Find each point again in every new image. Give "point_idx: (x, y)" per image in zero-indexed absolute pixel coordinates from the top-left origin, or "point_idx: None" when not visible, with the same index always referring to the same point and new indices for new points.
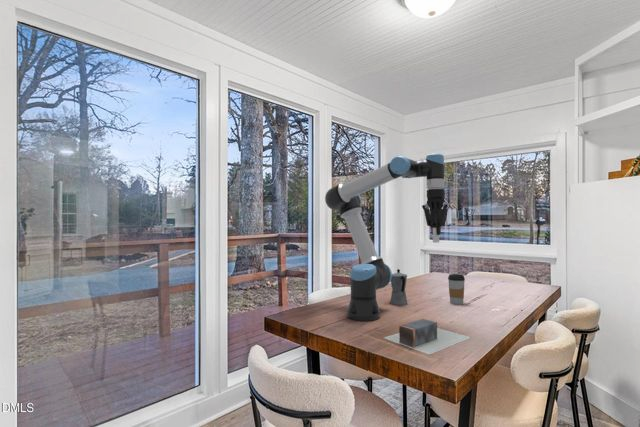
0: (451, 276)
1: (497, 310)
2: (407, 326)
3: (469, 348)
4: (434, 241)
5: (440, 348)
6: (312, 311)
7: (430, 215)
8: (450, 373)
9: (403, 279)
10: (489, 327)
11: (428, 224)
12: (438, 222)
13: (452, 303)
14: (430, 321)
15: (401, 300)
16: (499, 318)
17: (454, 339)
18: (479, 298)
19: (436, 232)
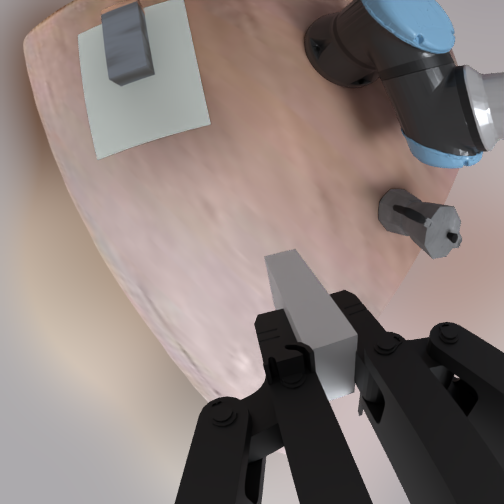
0: None
1: (235, 361)
2: (122, 8)
3: (67, 120)
4: (280, 257)
5: (84, 64)
6: None
7: (501, 467)
8: (32, 41)
9: (409, 210)
10: (141, 256)
11: (445, 335)
12: (284, 445)
13: None
14: (121, 69)
15: (386, 204)
16: (186, 324)
17: (102, 118)
18: None
19: (289, 323)
